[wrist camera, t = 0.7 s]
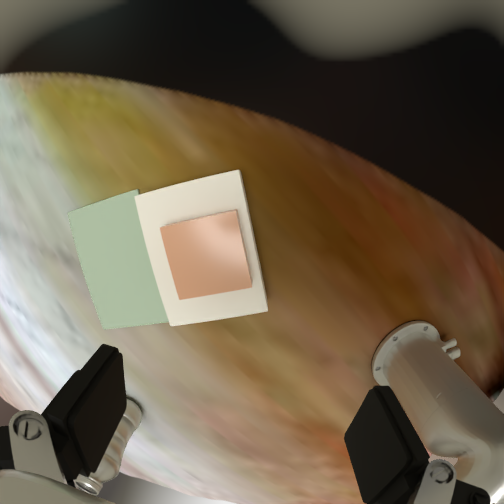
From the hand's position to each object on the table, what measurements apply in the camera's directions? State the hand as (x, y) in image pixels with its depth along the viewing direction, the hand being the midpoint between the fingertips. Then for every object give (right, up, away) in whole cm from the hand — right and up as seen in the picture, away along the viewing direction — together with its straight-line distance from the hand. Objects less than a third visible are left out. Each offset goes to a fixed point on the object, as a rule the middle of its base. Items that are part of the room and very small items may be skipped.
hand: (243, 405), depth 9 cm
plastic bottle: (-22, -22, +33) cm, 45 cm away
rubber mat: (-18, +4, +26) cm, 32 cm away
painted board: (-5, +6, +26) cm, 27 cm away
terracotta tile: (-4, +5, +22) cm, 23 cm away
